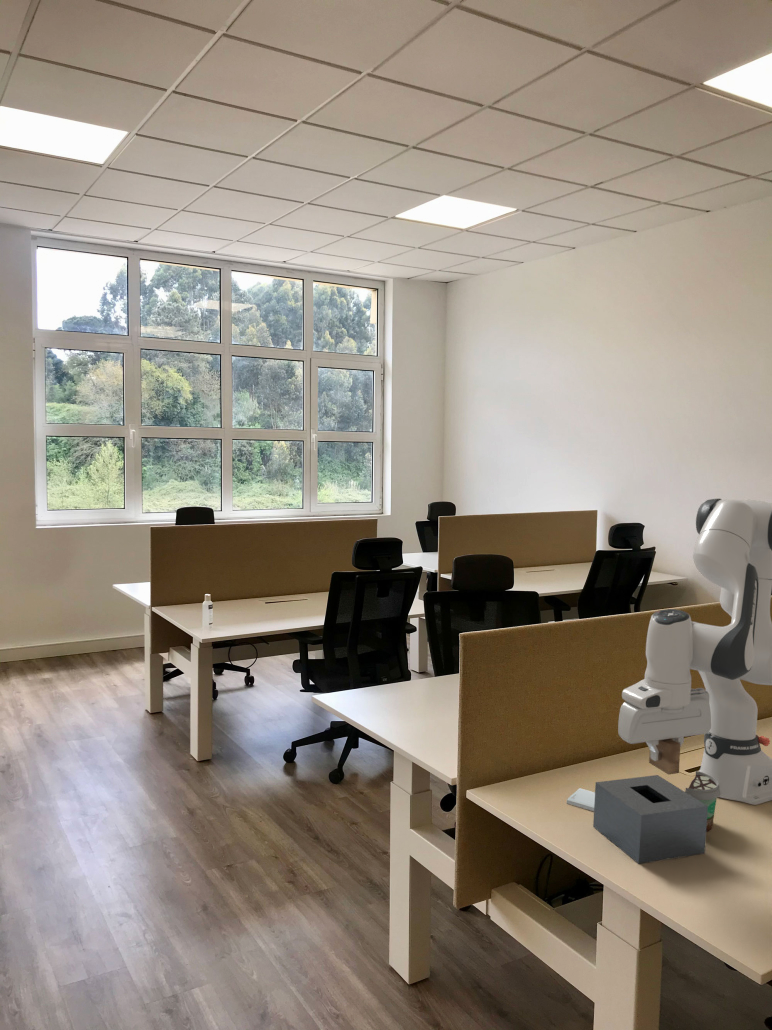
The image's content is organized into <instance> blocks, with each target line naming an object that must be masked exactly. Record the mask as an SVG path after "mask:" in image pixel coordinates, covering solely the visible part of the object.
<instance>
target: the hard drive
mask: <svg viewBox="0 0 772 1030" xmlns="http://www.w3.org/2000/svg"><path fill="white" fill-rule="evenodd" d="M594 803H595V791H591V790H588V789H584V788H581V787H580V788H578V789H577V790H576V791H574V793H572V794H571V795H570V796H568V798H567V799H566V804H567V805H571V806H574V807H577V808H581V809H584V810H587V811H591V812H594Z"/></svg>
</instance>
